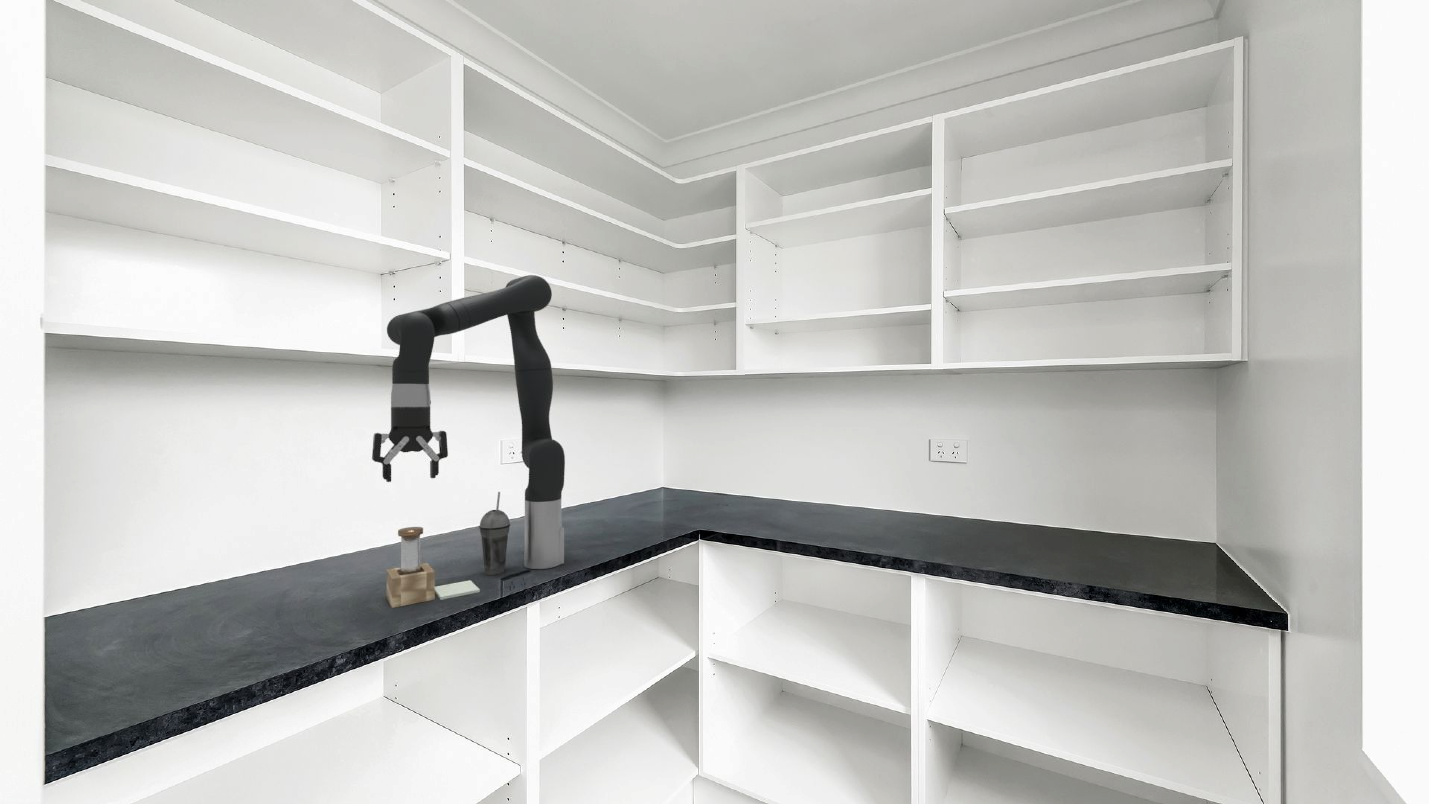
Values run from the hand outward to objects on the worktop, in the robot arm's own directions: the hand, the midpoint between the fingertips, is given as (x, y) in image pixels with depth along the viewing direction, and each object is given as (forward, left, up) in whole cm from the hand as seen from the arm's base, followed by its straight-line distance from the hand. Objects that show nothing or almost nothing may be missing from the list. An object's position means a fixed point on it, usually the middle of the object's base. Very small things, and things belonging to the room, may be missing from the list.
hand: (411, 479), depth 120 cm
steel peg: (0, 0, -26) cm, 26 cm away
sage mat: (-9, +1, -26) cm, 27 cm away
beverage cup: (-20, -8, -26) cm, 34 cm away
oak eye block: (0, 0, -26) cm, 26 cm away
